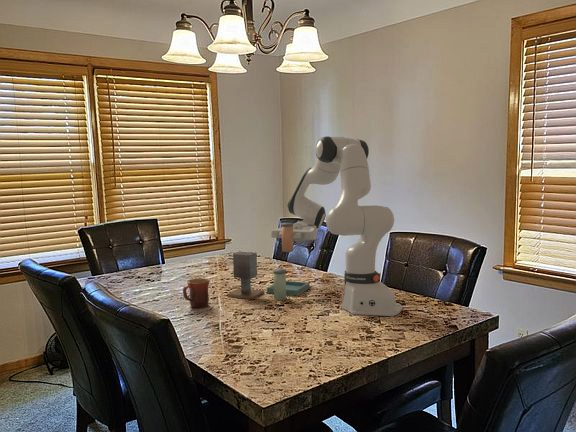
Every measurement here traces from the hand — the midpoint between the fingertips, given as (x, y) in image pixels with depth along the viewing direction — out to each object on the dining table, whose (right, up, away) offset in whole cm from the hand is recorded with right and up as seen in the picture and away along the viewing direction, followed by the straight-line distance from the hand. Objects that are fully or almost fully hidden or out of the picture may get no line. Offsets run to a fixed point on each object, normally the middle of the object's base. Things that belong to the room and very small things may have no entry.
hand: (286, 236), depth 207 cm
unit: (-17, -25, -3) cm, 30 cm away
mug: (-35, -27, -18) cm, 48 cm away
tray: (+1, -24, +3) cm, 24 cm away
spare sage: (-3, -25, -9) cm, 27 cm away
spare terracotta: (0, -6, +2) cm, 7 cm away
